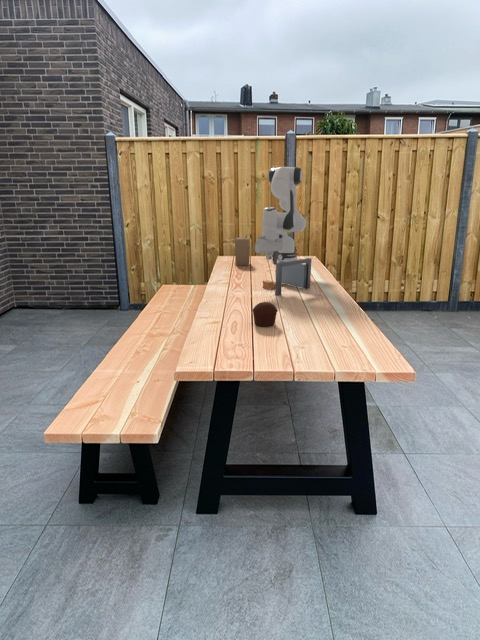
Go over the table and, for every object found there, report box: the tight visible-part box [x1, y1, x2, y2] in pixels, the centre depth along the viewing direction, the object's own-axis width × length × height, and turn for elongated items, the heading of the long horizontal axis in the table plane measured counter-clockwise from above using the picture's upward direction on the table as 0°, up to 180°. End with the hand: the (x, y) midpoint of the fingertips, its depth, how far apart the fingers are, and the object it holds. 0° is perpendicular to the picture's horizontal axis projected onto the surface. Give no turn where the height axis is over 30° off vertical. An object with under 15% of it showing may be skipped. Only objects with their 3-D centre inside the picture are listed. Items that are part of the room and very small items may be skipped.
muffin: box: [251, 301, 279, 328], centre depth 204 cm, size 12×11×10 cm
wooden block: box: [234, 237, 251, 267], centre depth 342 cm, size 10×10×20 cm
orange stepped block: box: [262, 279, 284, 290], centre depth 276 cm, size 12×5×4 cm, turn 131°
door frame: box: [274, 257, 312, 296], centre depth 263 cm, size 27×2×18 cm, turn 131°
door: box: [279, 260, 307, 289], centre depth 277 cm, size 22×1×14 cm, turn 41°
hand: (268, 259), depth 269 cm, fingers closed
